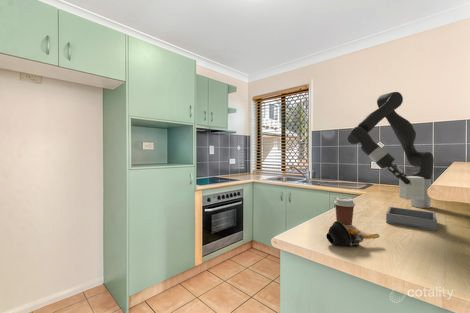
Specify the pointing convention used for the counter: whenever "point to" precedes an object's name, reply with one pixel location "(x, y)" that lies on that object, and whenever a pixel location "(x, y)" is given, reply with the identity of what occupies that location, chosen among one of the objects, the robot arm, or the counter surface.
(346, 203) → the coffee cup
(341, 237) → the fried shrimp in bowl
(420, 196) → the small box
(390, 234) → the counter surface
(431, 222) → the tray
